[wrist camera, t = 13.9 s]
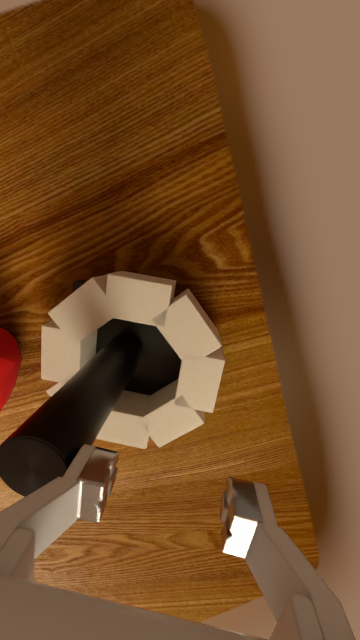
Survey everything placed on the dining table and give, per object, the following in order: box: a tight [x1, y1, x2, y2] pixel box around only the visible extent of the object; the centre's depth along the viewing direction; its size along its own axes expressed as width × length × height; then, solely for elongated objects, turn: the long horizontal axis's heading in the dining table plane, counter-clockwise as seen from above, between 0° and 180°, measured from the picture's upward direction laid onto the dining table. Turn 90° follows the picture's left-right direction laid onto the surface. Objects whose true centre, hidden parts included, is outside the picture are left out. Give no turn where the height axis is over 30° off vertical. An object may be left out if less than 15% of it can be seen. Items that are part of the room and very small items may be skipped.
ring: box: [41, 271, 225, 449], centre depth 19 cm, size 13×13×3 cm
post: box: [0, 280, 182, 497], centre depth 16 cm, size 10×10×13 cm
